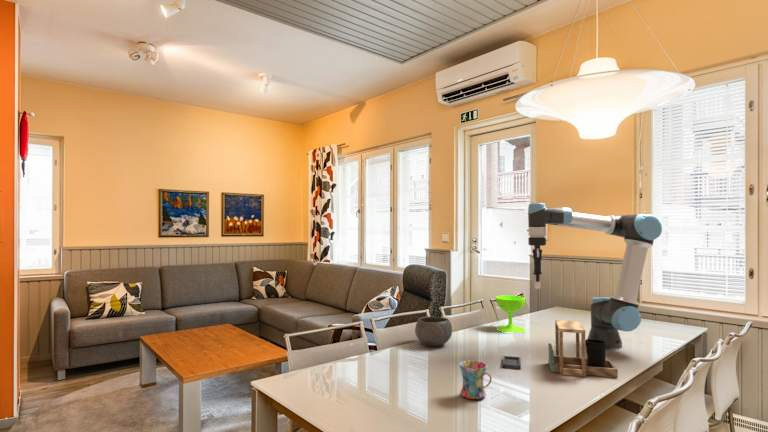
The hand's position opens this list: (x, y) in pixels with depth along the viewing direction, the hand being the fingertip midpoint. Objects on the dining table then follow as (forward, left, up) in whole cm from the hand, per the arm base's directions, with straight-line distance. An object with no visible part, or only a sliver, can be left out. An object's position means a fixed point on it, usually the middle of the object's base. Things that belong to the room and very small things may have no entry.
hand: (537, 288), depth 195 cm
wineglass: (+12, -43, -30) cm, 54 cm away
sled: (-15, +19, -29) cm, 38 cm away
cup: (-21, +19, -30) cm, 41 cm away
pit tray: (+12, +19, -29) cm, 37 cm away
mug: (+23, +59, -30) cm, 70 cm away
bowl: (+48, -1, -30) cm, 56 cm away
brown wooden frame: (-11, +19, -29) cm, 37 cm away
